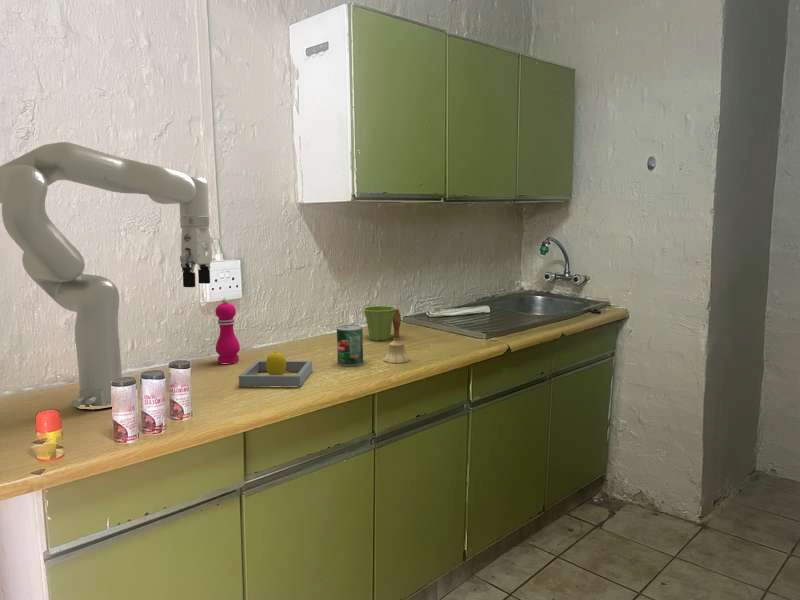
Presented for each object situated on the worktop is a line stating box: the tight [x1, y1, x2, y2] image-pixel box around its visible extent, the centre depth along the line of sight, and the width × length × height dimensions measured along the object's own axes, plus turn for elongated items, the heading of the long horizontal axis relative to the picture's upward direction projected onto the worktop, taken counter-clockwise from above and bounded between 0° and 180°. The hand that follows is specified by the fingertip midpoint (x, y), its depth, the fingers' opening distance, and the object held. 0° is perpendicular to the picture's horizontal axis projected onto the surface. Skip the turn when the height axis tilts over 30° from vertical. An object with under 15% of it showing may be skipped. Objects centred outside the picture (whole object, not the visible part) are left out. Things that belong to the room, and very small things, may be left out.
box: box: [238, 360, 313, 387], centre depth 171 cm, size 16×16×3 cm
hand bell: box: [383, 308, 411, 364], centre depth 189 cm, size 8×8×16 cm
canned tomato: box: [336, 324, 364, 367], centre depth 187 cm, size 8×8×11 cm
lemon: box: [265, 350, 287, 375], centre depth 170 cm, size 6×6×8 cm
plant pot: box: [362, 305, 397, 342], centre depth 219 cm, size 12×12×11 cm
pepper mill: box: [215, 297, 241, 364], centre depth 189 cm, size 7×7×20 cm
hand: (197, 285), depth 170 cm, fingers open, 9 cm apart
